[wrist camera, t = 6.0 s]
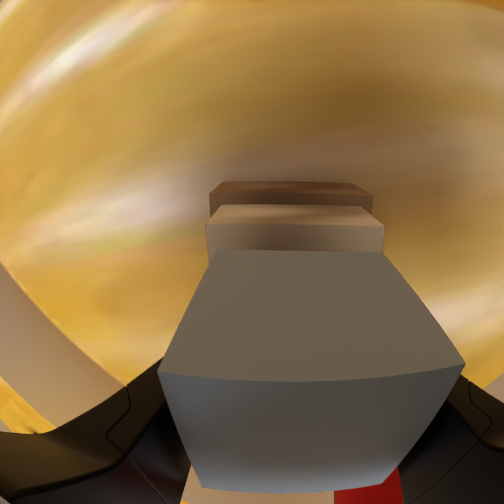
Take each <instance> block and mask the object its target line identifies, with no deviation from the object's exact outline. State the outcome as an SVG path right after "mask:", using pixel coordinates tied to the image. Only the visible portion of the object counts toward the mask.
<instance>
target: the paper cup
mask: <svg viewBox="0 0 504 504" xmlns="http://www.w3.org/2000/svg"><path fill="white" fill-rule="evenodd" d="M334 504H404V502H403V495H402V489H401V484H400V478H399V473H398V468H397V467H396V468H395V469H394V470H393V471H392V472H391V474H390V475H389V476H388V477H387V478H386V479H385V480H384V481H383V482H382V483H381V484H377V485H371V486H365V487H359V488H352V489H345V490H336V491H334Z"/></svg>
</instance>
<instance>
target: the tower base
mask: <svg viewBox="0 0 504 504" xmlns="http://www.w3.org/2000/svg"><path fill="white" fill-rule="evenodd" d="M209 196H210V213H211V218H210V220H209V221H208V222H207V223H206V236H207V249H208V261H209V264H210V262H211V260H212V258H213V256H214V254H215V252H216V250H276V251H335V252H382V248H383V240H384V232H385V226H384V225H383V224H382V223H380V222H379V221H378V220H377V219H376V218H375V217H373V216H372V215H371V207H372V195H370V194H369V193H367V192H365V191H364V190H362V189H360V188H359V187H357V186H355V185H354V184H344V183H318V182H223V183H222V184H220V185H219V186H218V187H217V188H215V189H214V190H213V191H212V192H211V193H209Z"/></svg>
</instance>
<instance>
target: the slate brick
mask: <svg viewBox="0 0 504 504" xmlns="http://www.w3.org/2000/svg"><path fill="white" fill-rule="evenodd" d="M465 364H466V363H465V362H464V360H463V359H462V357H461V355H460V354H459V352H458V351H457V349H456V348H455V346H454V345H453V343H452V342H451V341H450V339H449V338H448V336H447V335H446V333H445V332H444V331H443V329H442V328H441V326H440V325H439V324H438V322H437V321H436V319H435V318H434V317H433V315H432V314H431V313H430V311H429V310H428V309H427V307H426V306H425V305H424V303H423V302H422V301H421V299H420V298H419V297H418V295H417V294H416V293H415V292H414V290H413V289H412V288H411V287H410V285H409V284H408V283H407V281H406V280H405V279H404V278H403V277H402V275H401V274H400V273H399V272H398V270H397V269H396V268H395V267H394V266H393V264H392V263H391V262H390V261H389V260H388V258H387V257H386V256H385V255H384V254H383V253H382V252H335V251H276V250H216V252H215V254H214V256H213V258H212V260H211V262H210V264H209V266H208V268H207V270H206V272H205V274H204V276H203V277H202V279H201V281H200V283H199V285H198V287H197V289H196V291H195V293H194V295H193V297H192V300H191V302H190V304H189V306H188V308H187V310H186V312H185V314H184V316H183V318H182V320H181V322H180V324H179V326H178V328H177V330H176V332H175V334H174V336H173V339H172V341H171V343H170V345H169V347H168V349H167V351H166V353H165V355H164V358H163V360H162V362H161V364H160V366H159V368H158V370H157V373H158V376H159V379H160V382H161V385H162V389H163V392H164V395H165V397H166V400H167V403H168V406H169V409H170V412H171V414H172V417H173V420H174V422H175V425H176V428H177V430H178V433H179V435H180V438H181V440H182V443H183V445H184V448H185V450H186V452H187V455H188V457H189V459H190V462H191V464H192V466H193V468H194V471H195V473H196V475H197V477H198V479H199V481H200V483H201V485H202V487H203V488H210V489H218V490H227V491H237V492H251V493H311V492H325V491H336V490H345V489H352V488H359V487H365V486H371V485H377V484H381V483H382V482H383V481H384V480H385V479H386V478H387V477H388V476H389V475H390V474H391V472H392V471H393V470H394V469H395V468H396V467H397V466H398V464H399V463H400V462H401V461H402V460H403V458H404V457H405V456H406V455H407V454H408V452H409V451H410V450H411V449H412V447H413V446H414V445H415V443H416V442H417V441H418V439H419V438H420V437H421V435H422V434H423V433H424V431H425V430H426V428H427V427H428V426H429V424H430V423H431V421H432V420H433V418H434V417H435V415H436V414H437V412H438V411H439V409H440V408H441V406H442V404H443V403H444V401H445V400H446V398H447V396H448V395H449V393H450V391H451V390H452V388H453V386H454V384H455V383H456V381H457V379H458V377H459V375H460V374H461V372H462V370H463V368H464V366H465Z"/></svg>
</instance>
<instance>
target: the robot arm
mask: <svg viewBox="0 0 504 504" xmlns="http://www.w3.org/2000/svg"><path fill="white" fill-rule="evenodd" d="M163 358H164V357H162V358H161V359H160V360H159V361H157V362H156V363H155V364H153V365H152V366H151V367H149V368H148V369H147V370H145V371H144V372H143V373H142V374H140V375H139V376H138V377H136V378H135V379H134V380H132V381H131V382H130V383H128V384H127V387H126V386H124V387H123V388H122V389H120V390H119V391H117V392H116V393H115V394H113V395H112V396H110V397H109V398H108V399H106V400H105V401H103V402H102V403H100V404H98V405H97V406H95V407H94V408H92V409H91V410H89V411H87V412H85V413H83V414H82V415H80V416H78V417H76V418H75V419H73V420H71V421H69V422H68V423H66V424H64V425H62V426H60V427H58V428H56V429H54V430H52V431H49V432H46V433H42V434H22V433H10V432H1V431H0V504H180V501H181V497H182V494H183V491H184V487H185V484H186V481H187V477H188V474H189V470H190V467H191V462H190V459H189V457H188V455H187V452H186V450H185V448H184V445H183V443H182V440H181V438H180V435H179V433H178V430H177V428H176V425H175V422H174V420H173V417H172V414H171V412H170V409H169V406H168V403H167V400H166V397H165V395H164V392H163V389H162V385H161V382H160V379H159V376H158V373H157V370H158V368H159V366H160V364H161V362H162V360H163ZM397 468H398V473H399V478H400V484H401V489H402V495H403V502H404V504H504V403H503V402H501V401H500V400H498V399H496V398H495V397H493V396H491V395H490V394H488V393H487V392H485V391H484V390H482V389H481V388H479V387H478V386H477V385H475V384H474V383H472V382H471V381H469V380H468V379H467V378H465V377H464V376H462V375H461V374H460V375H459V377H458V379H457V381H456V383H455V384H454V386H453V388H452V390H451V391H450V393H449V395H448V396H447V398H446V400H445V401H444V403H443V404H442V406H441V408H440V409H439V411H438V412H437V414H436V415H435V417H434V418H433V420H432V421H431V423H430V424H429V426H428V427H427V428H426V430H425V431H424V433H423V434H422V435H421V437H420V438H419V439H418V441H417V442H416V443H415V445H414V446H413V447H412V449H411V450H410V451H409V452H408V454H407V455H406V456H405V457H404V458H403V460H402V461H401V462H400V463H399V464H398V466H397Z"/></svg>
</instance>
